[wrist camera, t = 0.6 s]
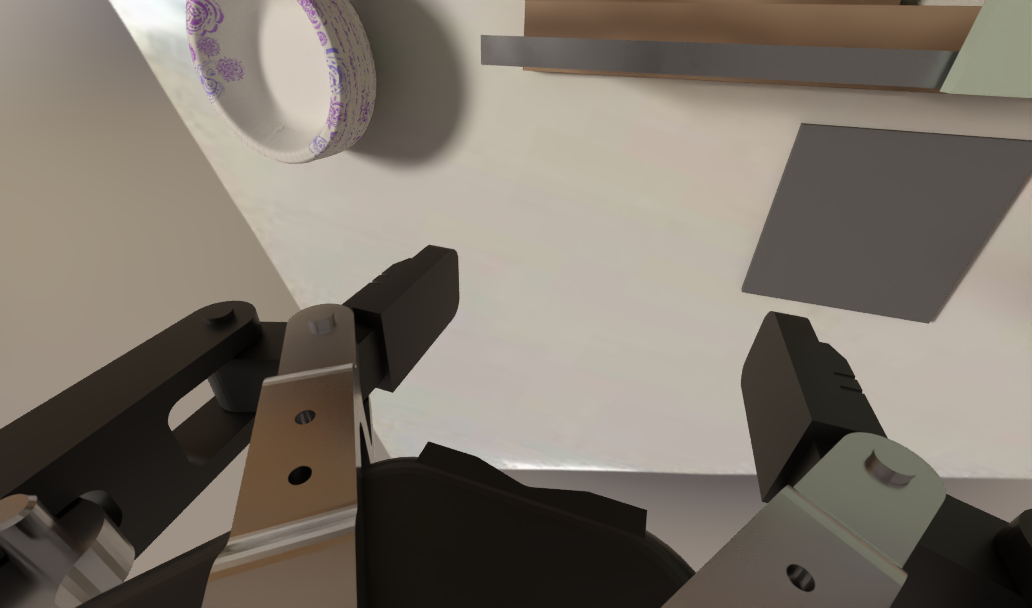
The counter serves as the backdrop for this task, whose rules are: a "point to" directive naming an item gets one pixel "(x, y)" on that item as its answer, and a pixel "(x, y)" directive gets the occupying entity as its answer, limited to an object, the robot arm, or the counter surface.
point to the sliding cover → (996, 53)
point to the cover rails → (725, 60)
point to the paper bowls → (285, 73)
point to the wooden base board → (755, 27)
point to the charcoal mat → (882, 217)
